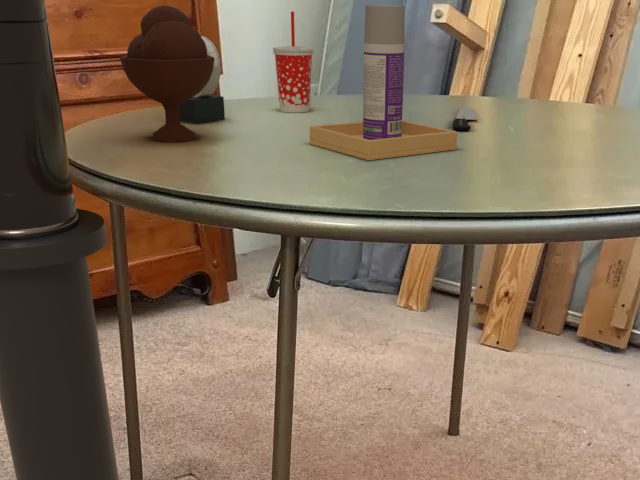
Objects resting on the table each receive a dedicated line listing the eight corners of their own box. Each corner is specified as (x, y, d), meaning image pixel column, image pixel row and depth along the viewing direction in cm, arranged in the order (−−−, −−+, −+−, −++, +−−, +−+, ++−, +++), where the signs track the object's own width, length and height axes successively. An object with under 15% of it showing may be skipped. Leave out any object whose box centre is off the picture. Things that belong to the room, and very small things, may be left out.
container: (396, 138, 99) (400, 5, 92) (405, 144, 95) (410, 6, 88) (359, 138, 98) (360, 4, 91) (367, 145, 94) (368, 5, 87)
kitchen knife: (472, 131, 108) (472, 127, 108) (449, 130, 108) (450, 127, 108) (479, 107, 128) (479, 104, 128) (460, 107, 129) (461, 103, 128)
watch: (194, 115, 117) (187, 34, 112) (233, 120, 113) (228, 36, 108) (164, 119, 113) (156, 35, 108) (204, 125, 108) (198, 38, 104)
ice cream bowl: (113, 136, 99) (96, 4, 93) (191, 128, 106) (182, 4, 99) (154, 148, 92) (139, 7, 86) (235, 139, 99) (228, 7, 92)
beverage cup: (306, 114, 120) (304, 12, 114) (268, 111, 121) (264, 11, 115) (320, 109, 125) (319, 11, 119) (284, 106, 127) (281, 10, 121)
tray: (368, 160, 89) (368, 141, 88) (309, 143, 97) (309, 126, 96) (456, 149, 96) (457, 131, 95) (394, 134, 104) (395, 118, 104)
